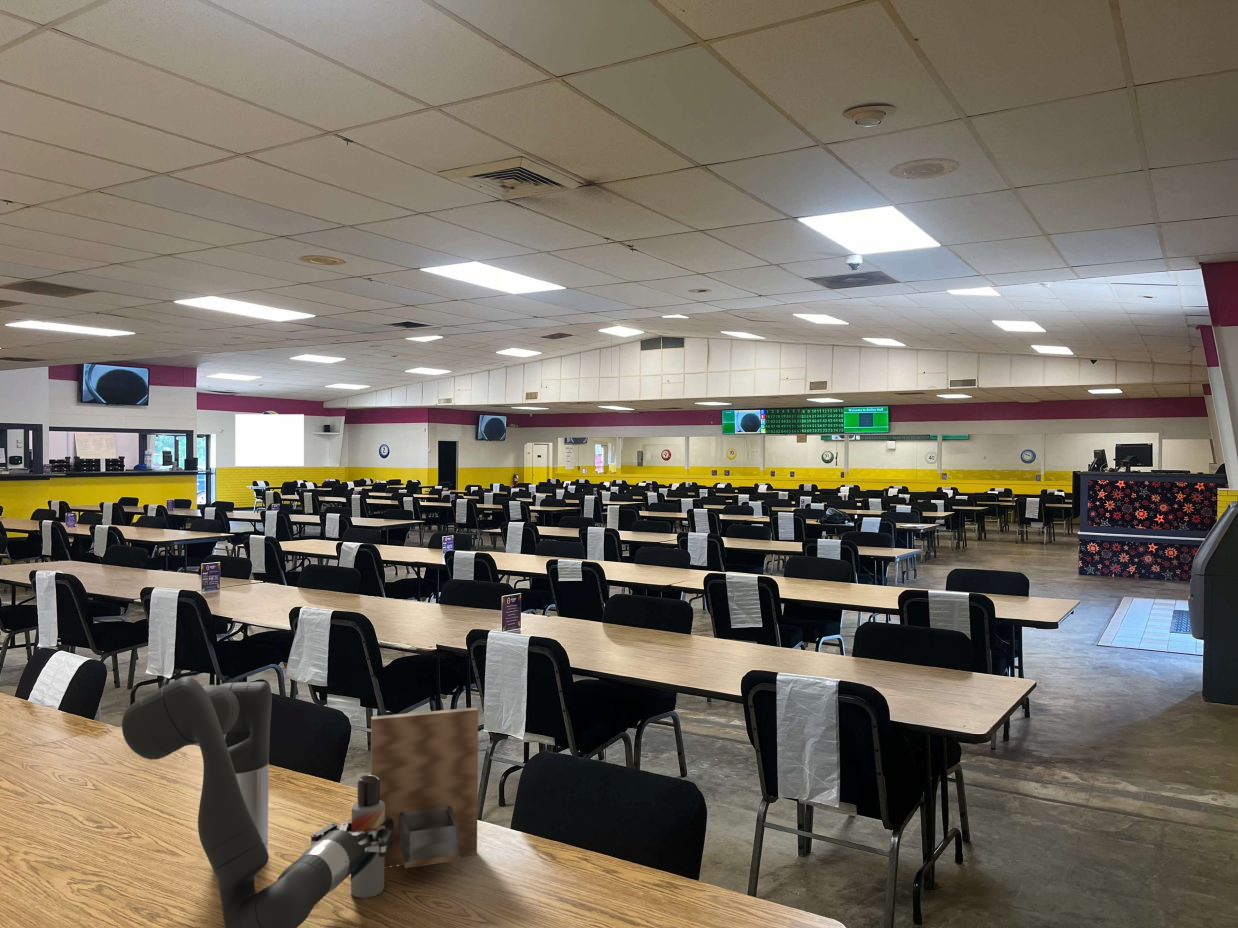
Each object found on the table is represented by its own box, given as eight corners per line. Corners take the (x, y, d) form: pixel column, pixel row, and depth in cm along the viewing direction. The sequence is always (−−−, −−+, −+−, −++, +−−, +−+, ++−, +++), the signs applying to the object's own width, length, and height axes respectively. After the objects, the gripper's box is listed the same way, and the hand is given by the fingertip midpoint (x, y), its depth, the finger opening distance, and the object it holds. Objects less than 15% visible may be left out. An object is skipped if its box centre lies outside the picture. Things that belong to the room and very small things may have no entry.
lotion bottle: (354, 883, 152) (356, 771, 152) (386, 882, 152) (388, 771, 152) (347, 898, 146) (348, 782, 146) (380, 897, 146) (381, 782, 147)
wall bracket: (374, 895, 147) (375, 734, 148) (369, 865, 159) (371, 716, 159) (487, 877, 154) (488, 724, 155) (475, 849, 166) (476, 707, 166)
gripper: (368, 843, 134) (412, 803, 151) (286, 836, 136) (338, 798, 153) (368, 891, 134) (411, 846, 150) (285, 883, 136) (337, 839, 153)
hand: (374, 822), depth 152 cm, fingers closed on lotion bottle, 5 cm apart
